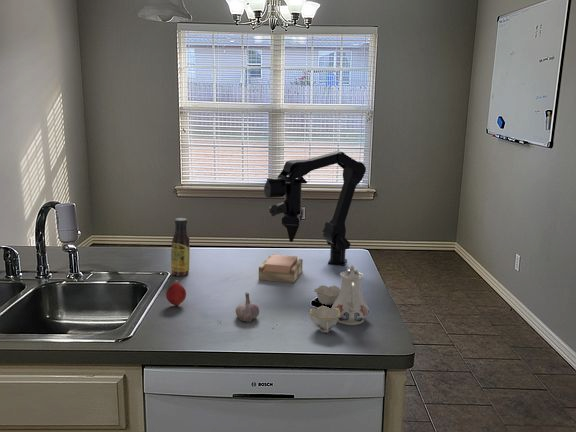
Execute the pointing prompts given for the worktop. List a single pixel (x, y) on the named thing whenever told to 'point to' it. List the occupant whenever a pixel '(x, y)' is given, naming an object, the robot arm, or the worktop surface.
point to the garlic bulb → (247, 310)
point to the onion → (176, 293)
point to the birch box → (280, 276)
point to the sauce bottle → (180, 249)
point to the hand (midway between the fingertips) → (292, 238)
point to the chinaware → (341, 302)
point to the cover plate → (280, 263)
